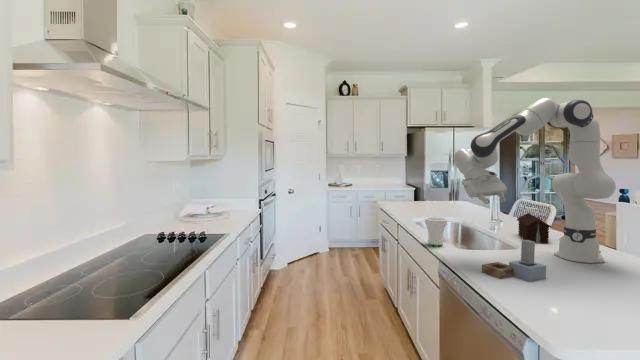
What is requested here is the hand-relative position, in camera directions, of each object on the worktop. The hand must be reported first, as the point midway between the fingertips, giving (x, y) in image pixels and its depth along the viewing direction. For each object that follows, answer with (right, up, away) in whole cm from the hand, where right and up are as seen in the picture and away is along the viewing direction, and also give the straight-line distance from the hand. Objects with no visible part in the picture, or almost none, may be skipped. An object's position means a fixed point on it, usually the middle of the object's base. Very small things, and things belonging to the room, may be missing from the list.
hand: (495, 202), depth 152 cm
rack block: (+6, -28, -12) cm, 31 cm away
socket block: (-3, -28, -8) cm, 29 cm away
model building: (+45, -24, +50) cm, 72 cm away
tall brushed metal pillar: (+7, -28, -12) cm, 31 cm away
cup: (-13, -25, +38) cm, 47 cm away
